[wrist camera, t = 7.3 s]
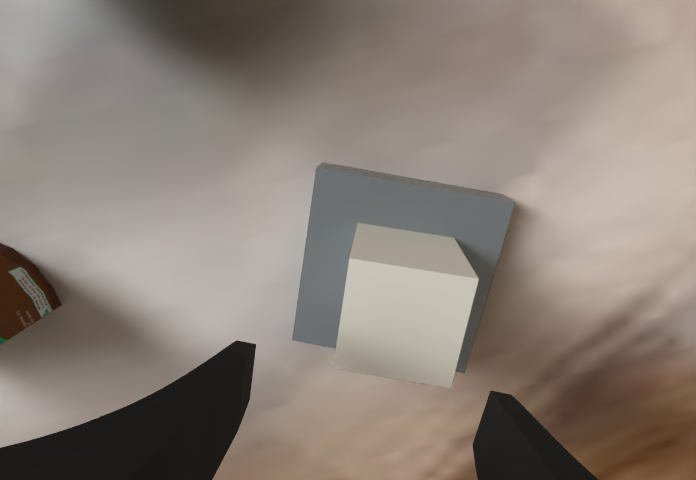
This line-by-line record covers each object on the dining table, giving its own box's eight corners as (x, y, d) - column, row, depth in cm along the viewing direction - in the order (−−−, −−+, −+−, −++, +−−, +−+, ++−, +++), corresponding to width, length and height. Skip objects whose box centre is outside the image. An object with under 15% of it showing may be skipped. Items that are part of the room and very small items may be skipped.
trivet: (457, 351, 22) (464, 372, 21) (299, 321, 23) (292, 340, 21) (502, 194, 20) (515, 202, 18) (322, 162, 20) (316, 167, 18)
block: (434, 323, 20) (450, 388, 15) (344, 308, 20) (332, 368, 15) (453, 237, 19) (478, 279, 14) (357, 222, 19) (349, 258, 14)
